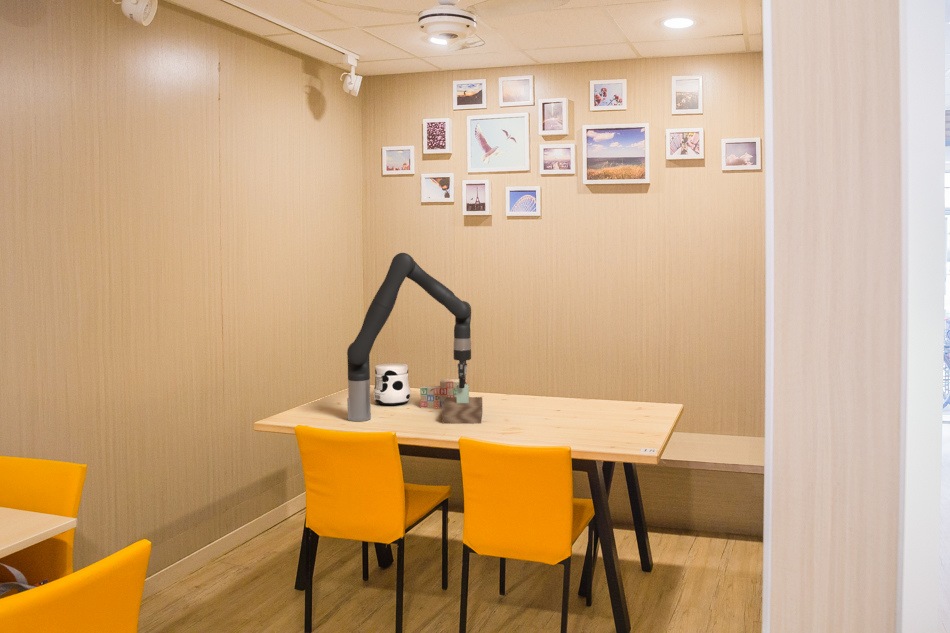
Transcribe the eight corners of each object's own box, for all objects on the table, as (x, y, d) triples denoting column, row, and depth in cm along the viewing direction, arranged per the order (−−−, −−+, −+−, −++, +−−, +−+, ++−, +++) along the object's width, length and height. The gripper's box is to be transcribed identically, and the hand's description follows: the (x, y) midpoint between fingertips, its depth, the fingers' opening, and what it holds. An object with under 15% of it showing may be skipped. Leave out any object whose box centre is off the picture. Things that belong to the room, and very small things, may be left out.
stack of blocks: (420, 408, 344) (419, 381, 343) (422, 405, 350) (421, 379, 349) (467, 408, 343) (466, 381, 342) (468, 405, 349) (467, 379, 348)
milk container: (414, 399, 362) (413, 362, 361) (406, 407, 345) (405, 368, 344) (379, 399, 365) (378, 362, 363) (369, 406, 348) (368, 368, 346)
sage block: (456, 403, 320) (456, 386, 319) (457, 400, 325) (457, 384, 324) (468, 403, 320) (468, 386, 319) (468, 400, 325) (468, 384, 324)
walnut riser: (442, 423, 313) (442, 406, 313) (446, 412, 333) (445, 397, 333) (481, 423, 313) (480, 406, 312) (482, 412, 333) (482, 397, 332)
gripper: (454, 346, 327) (454, 383, 329) (452, 350, 313) (452, 389, 315) (471, 346, 327) (472, 383, 328) (470, 350, 313) (470, 389, 314)
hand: (462, 386), depth 322 cm, fingers open, 8 cm apart
